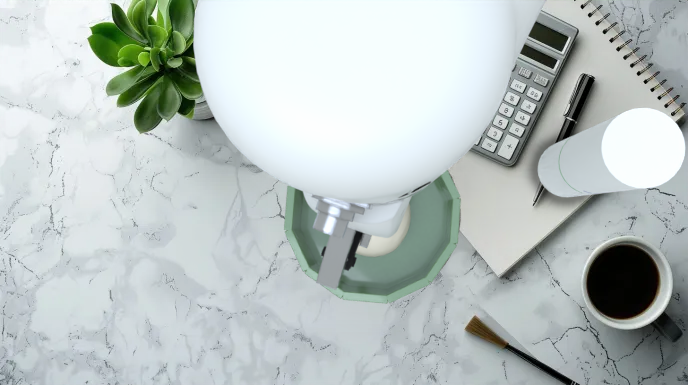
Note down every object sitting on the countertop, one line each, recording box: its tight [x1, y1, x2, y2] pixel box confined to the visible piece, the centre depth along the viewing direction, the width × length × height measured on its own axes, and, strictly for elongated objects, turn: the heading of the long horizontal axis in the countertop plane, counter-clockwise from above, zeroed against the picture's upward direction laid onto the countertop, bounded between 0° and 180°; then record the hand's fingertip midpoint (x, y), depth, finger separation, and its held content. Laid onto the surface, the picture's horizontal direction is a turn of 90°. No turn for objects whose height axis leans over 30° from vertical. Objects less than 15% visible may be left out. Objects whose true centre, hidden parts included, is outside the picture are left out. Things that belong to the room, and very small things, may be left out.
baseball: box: [356, 204, 411, 257], centre depth 53 cm, size 7×7×7 cm
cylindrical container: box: [537, 107, 686, 198], centre depth 67 cm, size 7×7×25 cm
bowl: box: [283, 169, 462, 305], centre depth 54 cm, size 15×15×5 cm
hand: (381, 152), depth 42 cm, fingers open, 9 cm apart
